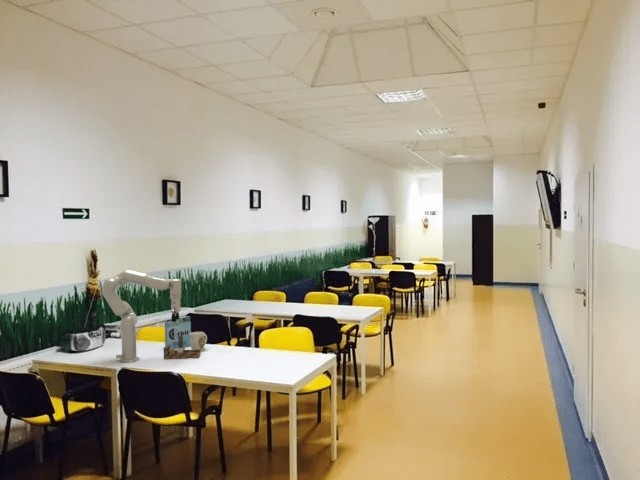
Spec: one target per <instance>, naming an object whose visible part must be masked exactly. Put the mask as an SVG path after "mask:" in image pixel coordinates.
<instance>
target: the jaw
mask: <svg viewBox="0 0 640 480" xmlns="http://www.w3.org/2000/svg"><path fill="white" fill-rule="evenodd" d="M178 346H179V347H178V348H176V350H177V353H185V350H186V349H185V348H186V347H185V346H183V335H180V336H178Z"/></svg>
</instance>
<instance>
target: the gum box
mask: <svg viewBox="0 0 640 480" xmlns="http://www.w3.org/2000/svg"><path fill="white" fill-rule="evenodd" d="M191 321H192V320H191V316H189V315H188V316H182V317H181V316H179V319H176V322H172V317H171V318H165V319H164V341H165V342H164V347H165V346H166V345H170V349H174V350H177V348H178V347H179V346H178V336H180V335H183V346H185V348H188V347H190V348H191V346H190V337H191V335H189V334H190V333H192V323H191Z"/></svg>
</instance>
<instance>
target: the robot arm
mask: <svg viewBox="0 0 640 480" xmlns="http://www.w3.org/2000/svg"><path fill="white" fill-rule="evenodd" d="M127 283H130V284H135V285H139V286H144V287H147V288H150V289H153V290H157V291H158V290H159V291H167V290H169V298H170V300H171V301H170V303H171V305H170V310H171V311H170V312H171V318H172V322H176V319H179V317H180V312H181V309H182V308H181V299H182V280H181V279H180V278H164V277H163V278H158V277H154V276H152V275H149V274H148V273H146V272H145V273H144V272H140V271H136V270H134V269H133V268H127V269H125V270H123V271H122V272H120V273H119V274H116V275H114V276H112V277H110V278H108V279H107V280H105V282H104V283H103V285H102V288H101V291H102V295H103V298H104V299H105V300H106V302H107V304H108V305H109V307H110V309H111V310H112V312H113V313H114V315H115V316H118V317H120V318H121V320H120V323H119V324H120V325H119V326H120V336H121V339H120V340H121V353H120V354H116V355H115V358H116V359H119V362H121V363H133V362H137V361H138V360H140V358H139V356H137V334H136V333H137V332H136V326H137V324H138V317H137V316H138V315H136V313H135V312H134V309H133V308H132V307H131V305H130V304H129V302H127V301H125V300H122V298H121V297H120V295H119V294H118V293H117V291H116V290H117V289H118V288H120V287H122V286H124V285H125V284H126V285H127Z"/></svg>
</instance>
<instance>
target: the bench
mask: <svg viewBox="0 0 640 480" xmlns="http://www.w3.org/2000/svg"><path fill="white" fill-rule="evenodd" d="M201 353H202V351H201V349H197V350H192V349H185V353H177V349H170V345H166V346H165V345H164V347H163V360H185V359H186V360H187V359H188V358H193V359H199V358H200V357H201V355H202V354H201ZM188 360H189V359H188Z"/></svg>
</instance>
